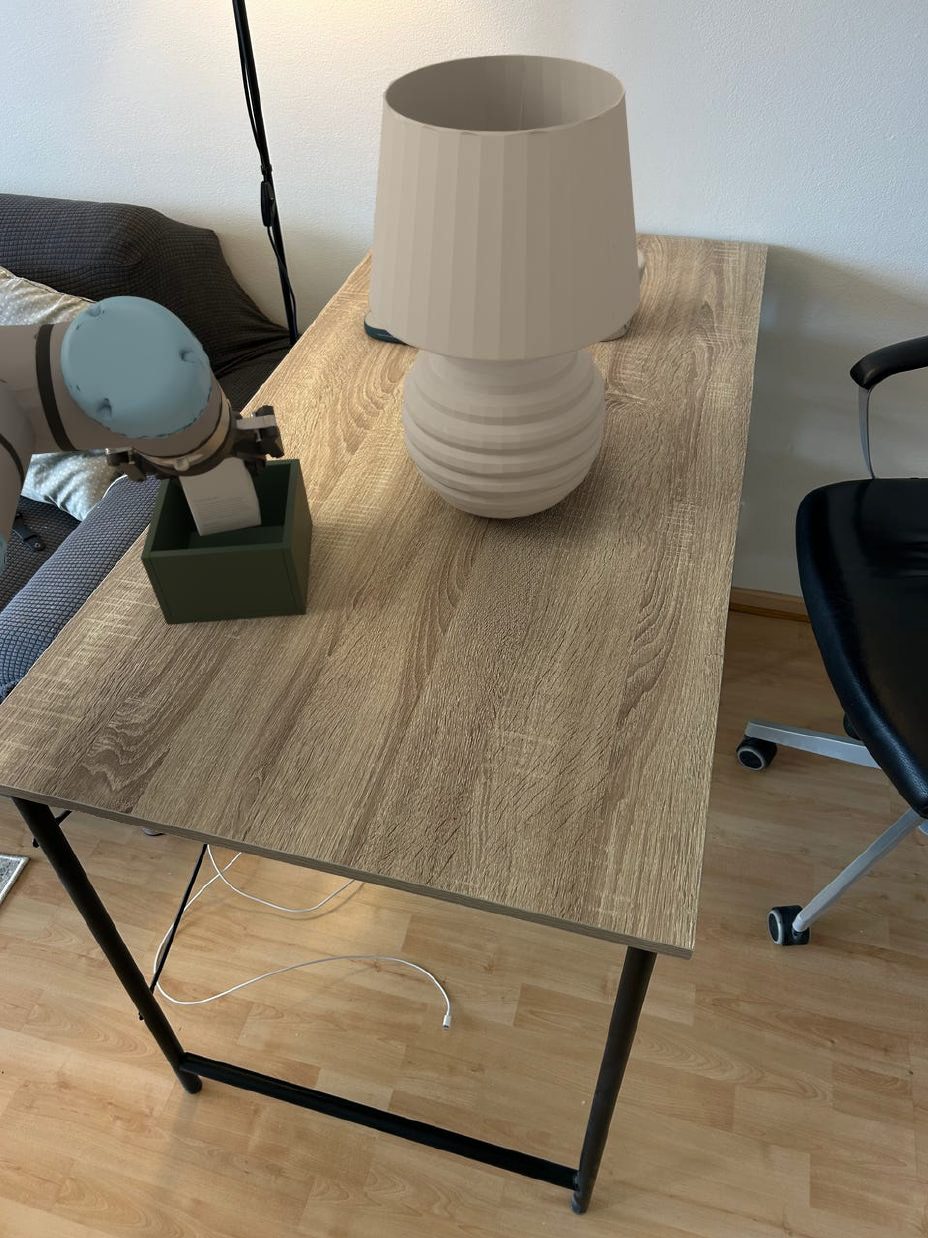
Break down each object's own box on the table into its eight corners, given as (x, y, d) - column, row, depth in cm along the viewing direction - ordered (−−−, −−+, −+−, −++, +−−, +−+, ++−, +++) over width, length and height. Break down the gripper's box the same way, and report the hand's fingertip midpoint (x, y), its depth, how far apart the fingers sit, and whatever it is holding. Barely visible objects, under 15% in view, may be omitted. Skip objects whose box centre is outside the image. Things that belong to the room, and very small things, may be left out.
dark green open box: (166, 624, 88) (140, 557, 81) (187, 533, 97) (164, 467, 91) (305, 614, 88) (290, 547, 82) (312, 524, 97) (299, 458, 91)
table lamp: (566, 405, 111) (588, 31, 82) (655, 532, 95) (723, 117, 66) (368, 447, 107) (317, 65, 78) (425, 587, 90) (388, 167, 61)
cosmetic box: (258, 500, 89) (231, 394, 81) (262, 528, 86) (234, 421, 78) (196, 511, 88) (161, 405, 80) (198, 540, 85) (162, 434, 77)
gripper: (51, 492, 63) (126, 524, 86) (318, 446, 66) (322, 489, 89) (28, 387, 63) (110, 447, 86) (298, 345, 66) (307, 414, 88)
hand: (218, 468), depth 87 cm, fingers closed on cosmetic box, 6 cm apart
